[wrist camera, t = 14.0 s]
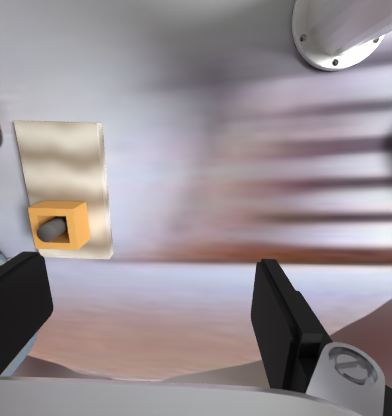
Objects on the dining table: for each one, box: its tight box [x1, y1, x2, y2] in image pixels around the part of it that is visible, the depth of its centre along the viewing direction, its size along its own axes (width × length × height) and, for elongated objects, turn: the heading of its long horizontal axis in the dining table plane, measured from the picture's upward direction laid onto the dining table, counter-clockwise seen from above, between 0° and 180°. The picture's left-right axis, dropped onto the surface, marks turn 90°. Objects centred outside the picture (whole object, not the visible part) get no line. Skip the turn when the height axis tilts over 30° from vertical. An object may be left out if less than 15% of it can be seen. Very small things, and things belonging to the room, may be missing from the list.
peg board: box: [14, 121, 113, 259], centre depth 34 cm, size 22×12×8 cm, turn 179°
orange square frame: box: [28, 201, 90, 250], centre depth 35 cm, size 6×6×4 cm
